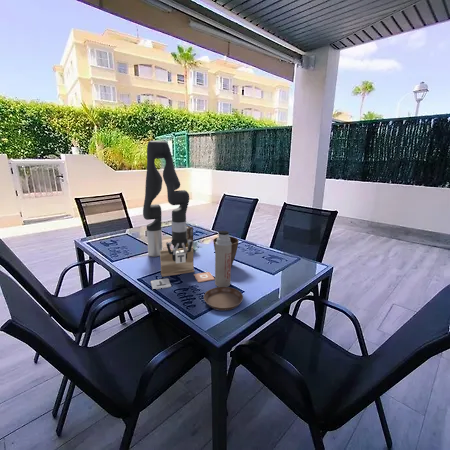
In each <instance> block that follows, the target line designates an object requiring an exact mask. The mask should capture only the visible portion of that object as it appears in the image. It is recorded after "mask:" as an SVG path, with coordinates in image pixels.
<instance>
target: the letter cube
mask: <svg viewBox="0 0 450 450" xmlns="http://www.w3.org/2000/svg"><path fill="white" fill-rule="evenodd" d="M175 256H176V261H175V262H176V263H184V262H186V253H185V252H184V250H179V251H176V253H175Z"/></svg>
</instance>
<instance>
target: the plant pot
mask: <svg viewBox="0 0 450 450" xmlns="http://www.w3.org/2000/svg"><path fill="white" fill-rule="evenodd" d="M218 237H219V236H218ZM218 237H215V238H213V240H212V242H213V247H214V250H215V243H216V242H217V238H218ZM229 238H230V242H231V243H232V244H231V267H232V266H233V263H234V261H235V257H236V255H237V252H238V247H239V239H238V238H237V237H234V236H229Z"/></svg>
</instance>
